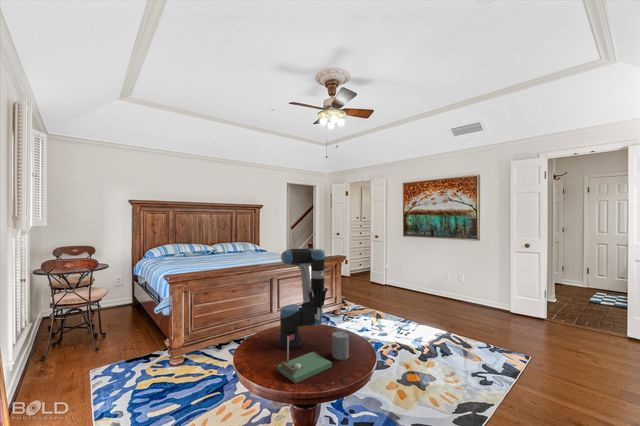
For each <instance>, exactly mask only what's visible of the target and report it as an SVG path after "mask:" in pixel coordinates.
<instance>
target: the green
mask: <svg viewBox="0 0 640 426" xmlns="http://www.w3.org/2000/svg"><path fill="white" fill-rule="evenodd" d="M293 339H294V334H293V335H290V336H287V350H286V356H287V357H286V361H285V362H284V361H282V362H281V363H280V364H278V365H277V368H276V370H277V371H278V372H279V373H281V374H282V375H283V376H285V377H286V378H287V379H289V380H291V381H292V382H293V383H294V384H297V383H299V382H302V381H304V380H306V379H309V378H311V377H313V376H315V375H318V374H319V373H321V372H324V371H326V370H328V369H331V368H332V367H333V362H332V361H331V360H328V359H326V358H325V357H323V356H321V355H320V354H318V353H316V352H314V351H311V352H308V353H306V354H303V355H300V356H297V357H295V358H293V359H290V356H289V355H290V352H289V351H290V350H289V341H290V340H293ZM297 363H299V364H300V365H301V369H300V370H298V371H295V369H294V365H295V364H297Z"/></svg>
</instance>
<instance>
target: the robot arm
mask: <svg viewBox="0 0 640 426" xmlns="http://www.w3.org/2000/svg"><path fill="white" fill-rule="evenodd" d="M280 259H281V261H282V263H283V264H284V265H288V266H297V267H298V269H299V270H300V276H301V277H300V278H301V289H302V290H301V291H302V301H303V302H302V303H301V305H300V306H299V305H298V304H295V303H294V304H293V303H292V304H287V305H285V306H282V307H281V309H280V315H279V317H280V319H279V320H280V321H279V323H280V327H279V328H280V329H279V334H278V338H277V342H276V344H277V346H278V347H279V348H281V349H285V350H286V349H287V336H290V335H293V334H294V339H293V340H290V341H289V349H290V350H291V349H297V348H298V347H300V346H301V345H302V336H301V334H300V327H316V326H319V325H321V323H322V321H323V309H324V308H323V306H324V305H325V300H326V296H327V292H328V288H327V287H325V259H326V255H325V250H324V249H321V248H320V249H318V248H314V249H313V248H290V249H286V250H284V251H283V252H282V253H281V255H280Z"/></svg>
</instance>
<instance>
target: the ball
mask: <svg viewBox="0 0 640 426" xmlns="http://www.w3.org/2000/svg"><path fill="white" fill-rule="evenodd" d="M294 369H295V371H298V370H300V369H301V365H300V364H299V363H297V364H295V365H294Z"/></svg>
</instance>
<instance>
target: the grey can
mask: <svg viewBox="0 0 640 426" xmlns="http://www.w3.org/2000/svg"><path fill="white" fill-rule="evenodd" d="M349 336H350V334H349V333H348V332H346V331H343V330H342V331H341V330H338V331H334V332H332V342H331V343H332V344H331V345H332V347H331V350H332V351H331V352H332V353H331V356H332V358H334V359H335V360H339V361H343V360H347V359H348V358H349V357H350V355H349V352H350V351H349V349H350V346H349V344H350V343H349V339H350V337H349Z"/></svg>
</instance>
